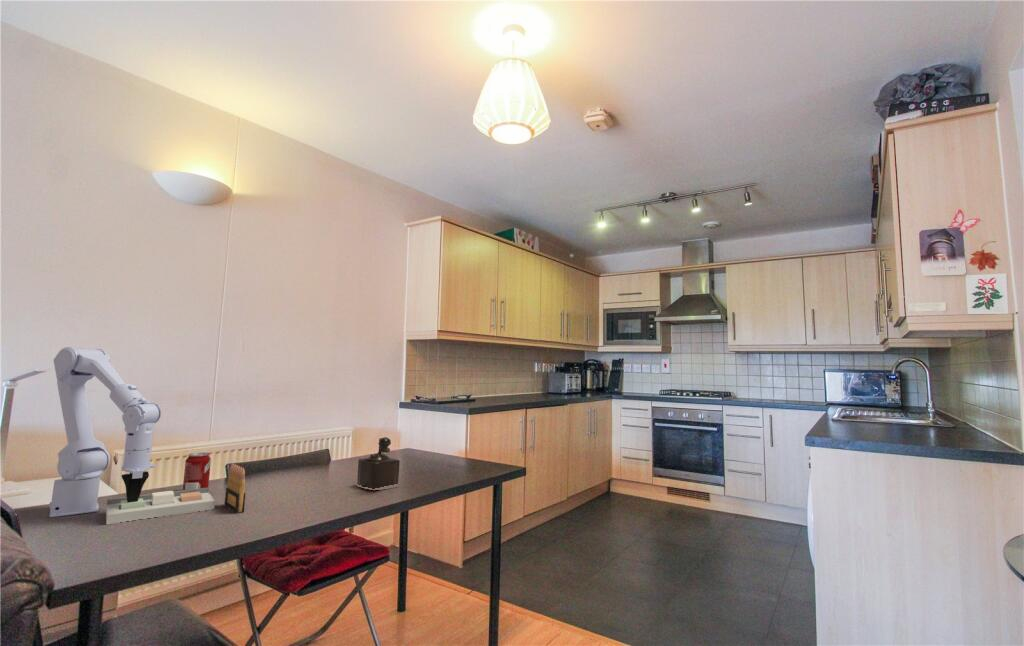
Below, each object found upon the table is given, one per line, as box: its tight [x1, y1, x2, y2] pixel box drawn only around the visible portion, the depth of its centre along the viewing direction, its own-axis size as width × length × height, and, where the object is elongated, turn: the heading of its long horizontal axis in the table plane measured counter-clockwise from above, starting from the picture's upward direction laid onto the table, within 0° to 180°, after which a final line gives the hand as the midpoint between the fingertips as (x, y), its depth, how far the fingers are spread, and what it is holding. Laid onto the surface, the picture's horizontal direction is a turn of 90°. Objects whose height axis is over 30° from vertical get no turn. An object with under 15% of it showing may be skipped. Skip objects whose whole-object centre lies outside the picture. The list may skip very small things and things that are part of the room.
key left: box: [120, 498, 144, 510], centre depth 125 cm, size 5×5×3 cm
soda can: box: [182, 452, 212, 491], centre depth 149 cm, size 7×7×12 cm
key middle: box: [151, 490, 174, 506], centre depth 130 cm, size 5×5×3 cm
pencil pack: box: [223, 462, 246, 514], centre depth 134 cm, size 11×2×12 cm, turn 47°
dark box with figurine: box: [356, 436, 401, 489], centre depth 162 cm, size 16×11×18 cm
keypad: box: [105, 487, 216, 525], centre depth 129 cm, size 23×12×4 cm, turn 131°
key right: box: [180, 492, 202, 502], centre depth 134 cm, size 5×5×3 cm
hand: (132, 501), depth 125 cm, fingers closed, pressing on key left
